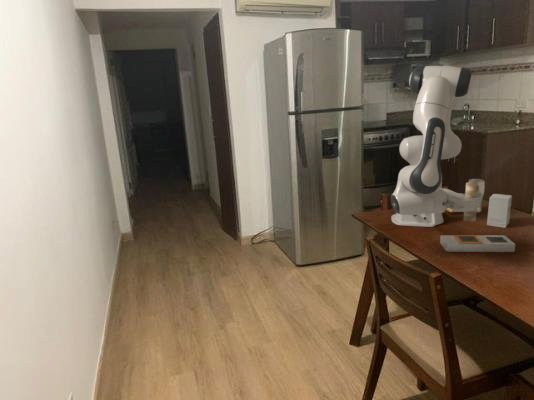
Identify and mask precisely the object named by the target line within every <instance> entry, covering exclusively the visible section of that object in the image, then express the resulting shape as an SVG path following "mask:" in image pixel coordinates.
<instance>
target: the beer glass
mask: <svg viewBox="0 0 534 400" xmlns="http://www.w3.org/2000/svg"><path fill="white" fill-rule="evenodd" d="M468 182H476V183H479V185H478V197H477V198H479V203H477V210H476V214H477V213H481V212H482V201H483V198H484V194H485V187H486V186H485V180H484V179H481V178H471V179H468Z"/></svg>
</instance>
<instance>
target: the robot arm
mask: <svg viewBox="0 0 534 400" xmlns="http://www.w3.org/2000/svg"><path fill="white" fill-rule="evenodd" d="M408 84H409V89H410V90H411V92H412V93H413V94H417V98H416V102H415V105H414V109H413V114H412V123H413V126H415V128H416V129H417V130H418V131H420V132H421V134H422V135H421V134H420V135H419V134H418V135H411V136H408V137H404V138H403V139H402V140H401V142H400V143H399V146H398V147H399V149H398V150H399V154H400V156H401V158H402V159H404V160H405V161H406V162H407V163H409V165H406V166H404V167H402V168H401V169H400V170H399V172H398V174H397V182H396V187H395V189H394V191H393V193H391V195H390V204H391V205H390V206H392V209H393V211H394V212H395V213H394V214H392V215H391V218H390V219H391V222H392V224H394V225H396V226H397V225H398V226H408V227H426V228H427V227H429V228H433V227H435V226H437V225H440V224H443V223H444V217H443V213H445V212H446V211H447V210H451V211H453V212H458V213H461V212H463V213H464V212H469V211H475V210H476V203H479V198H477V197H472V198H471V199H470V198H468V197H465V193H461V192H460V193H459V192H456V191H453V190H451V189H448V188H443V187H442V186H443V185H442V184H443V174H442V169H441V168H442V167H441V161H442V160H447V159H451V158H455V157H457V156H458V155H460V152H461V150H462V140H461V139H460V138H459V136H458V135H456V134H455V133H454V132H453V130H452V128H451V116H452V112H453V111H452V110H453V105H454V101H455V98H462V97H464V96H467V94H468V93H469V92H470V90H471V89H472V87H473V84H474V75H473V71H472V70H471V69H469V68H468V67H463V66H462V67H458V66H453V65H425V64H424V65H417V66H416V67H414V68H413V70H412V72H411V73H410V75H409V79H408Z"/></svg>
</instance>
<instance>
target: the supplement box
mask: <svg viewBox="0 0 534 400" xmlns="http://www.w3.org/2000/svg"><path fill="white" fill-rule="evenodd" d="M512 199H513V196H512V195H510V194H501V193H493V194H491V196H489V201H488V209H487V220H486V221H487V222H486V226H490V227H491V226H492V227H497V228H505V229H506V228H507V226H508V225H509V224H510V215H511V208H512Z"/></svg>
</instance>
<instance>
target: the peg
mask: <svg viewBox="0 0 534 400" xmlns="http://www.w3.org/2000/svg"><path fill="white" fill-rule="evenodd" d="M478 185H479V183H476V182H469V181H468V182H466V183H465V191H464V194H465V197H468V198H470V199H471V198H472V197H478ZM476 210H477V203H476ZM476 210H475V211H469V212H463V221H464V222H468V223H474V222H475V223H476V219H477V213H476Z"/></svg>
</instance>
